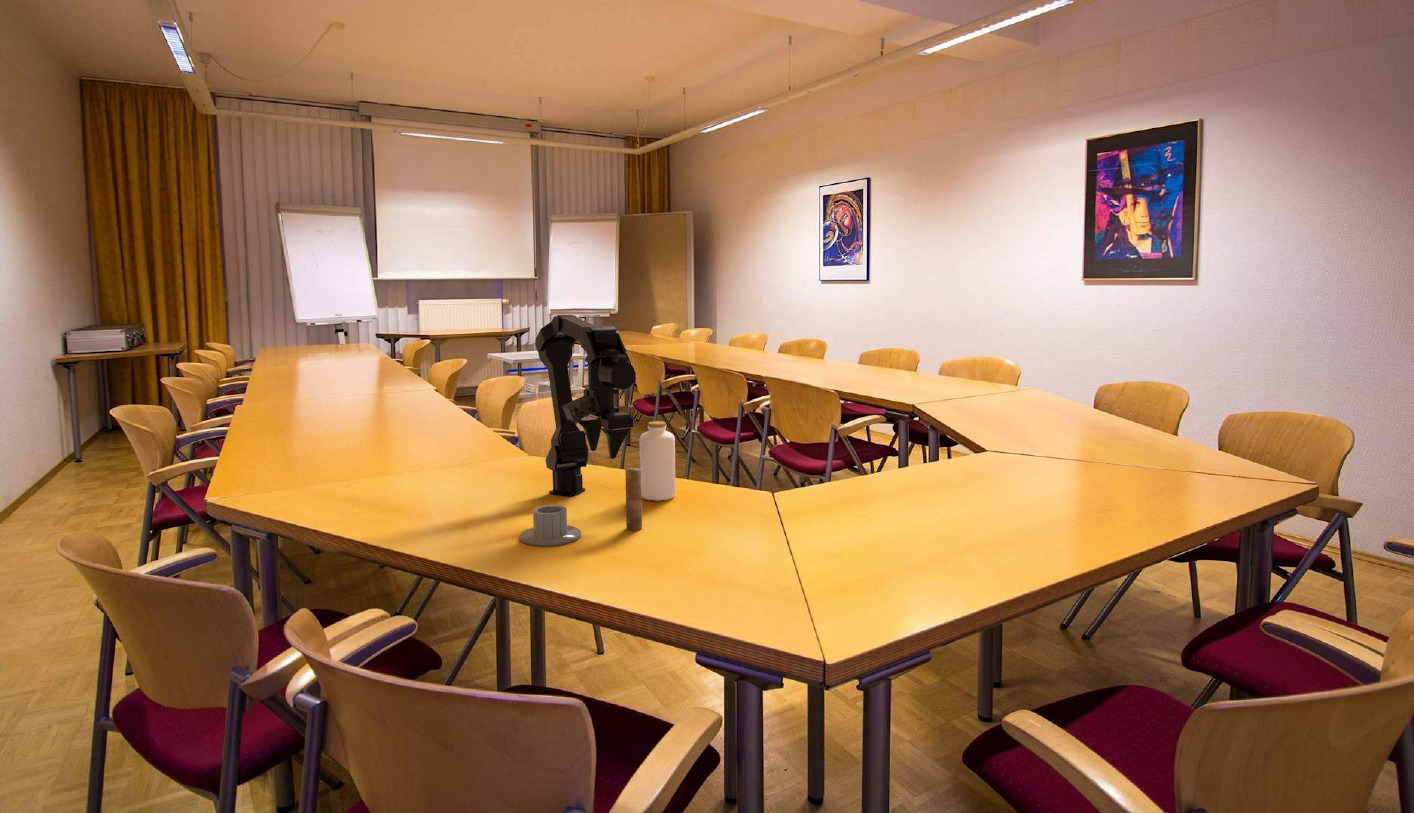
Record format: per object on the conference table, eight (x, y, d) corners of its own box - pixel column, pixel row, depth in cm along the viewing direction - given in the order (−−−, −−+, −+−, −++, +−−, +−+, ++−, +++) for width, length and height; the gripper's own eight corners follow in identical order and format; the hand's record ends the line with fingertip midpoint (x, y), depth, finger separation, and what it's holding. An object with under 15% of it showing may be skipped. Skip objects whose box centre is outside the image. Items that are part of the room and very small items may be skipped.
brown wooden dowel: (623, 529, 159) (622, 470, 157) (631, 525, 162) (630, 467, 160) (636, 531, 158) (635, 471, 156) (644, 527, 160) (644, 468, 158)
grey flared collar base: (507, 540, 152) (505, 513, 151) (546, 524, 163) (545, 498, 162) (556, 550, 147) (555, 521, 146) (593, 532, 157) (592, 505, 156)
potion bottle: (633, 499, 182) (632, 423, 179) (652, 491, 189) (651, 418, 186) (663, 503, 178) (663, 426, 175) (681, 495, 185) (681, 421, 183)
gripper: (549, 382, 171) (551, 451, 173) (586, 392, 155) (588, 467, 158) (594, 378, 177) (596, 445, 179) (635, 388, 162) (636, 460, 164)
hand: (602, 454), depth 170 cm, fingers open, 9 cm apart
